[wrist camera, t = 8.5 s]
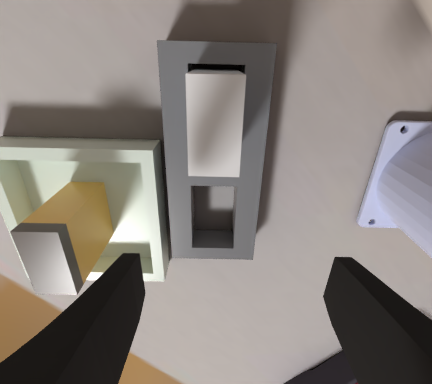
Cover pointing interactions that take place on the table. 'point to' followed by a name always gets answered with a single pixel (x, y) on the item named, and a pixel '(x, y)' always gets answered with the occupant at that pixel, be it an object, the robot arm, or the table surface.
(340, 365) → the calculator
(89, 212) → the yellow rectangular block
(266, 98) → the block
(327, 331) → the table surface
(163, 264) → the parts tray
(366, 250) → the table surface
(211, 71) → the block
